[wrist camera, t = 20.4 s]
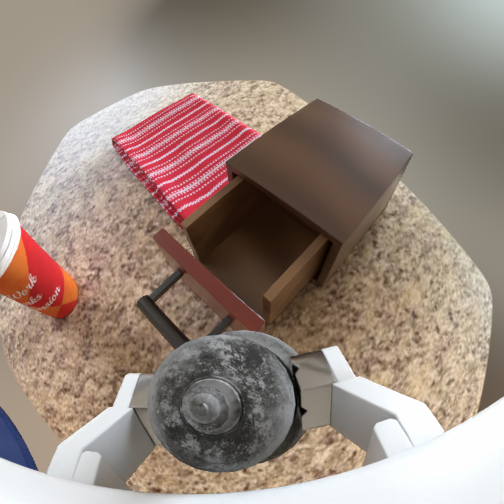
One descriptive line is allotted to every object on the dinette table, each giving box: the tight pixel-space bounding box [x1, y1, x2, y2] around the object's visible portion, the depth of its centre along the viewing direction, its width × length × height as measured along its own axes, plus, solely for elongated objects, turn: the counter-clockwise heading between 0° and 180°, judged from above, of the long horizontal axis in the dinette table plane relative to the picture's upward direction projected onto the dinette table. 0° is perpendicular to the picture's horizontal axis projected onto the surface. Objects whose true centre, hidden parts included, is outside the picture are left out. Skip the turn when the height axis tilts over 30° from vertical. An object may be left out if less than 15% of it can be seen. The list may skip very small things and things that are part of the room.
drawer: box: [137, 176, 333, 349], centre depth 26 cm, size 18×11×8 cm, turn 137°
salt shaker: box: [147, 330, 306, 473], centre depth 9 cm, size 6×6×12 cm
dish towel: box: [112, 93, 262, 229], centre depth 39 cm, size 17×24×3 cm
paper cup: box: [0, 211, 78, 318], centre depth 24 cm, size 8×8×14 cm
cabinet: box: [225, 99, 413, 288], centre depth 30 cm, size 15×13×10 cm
